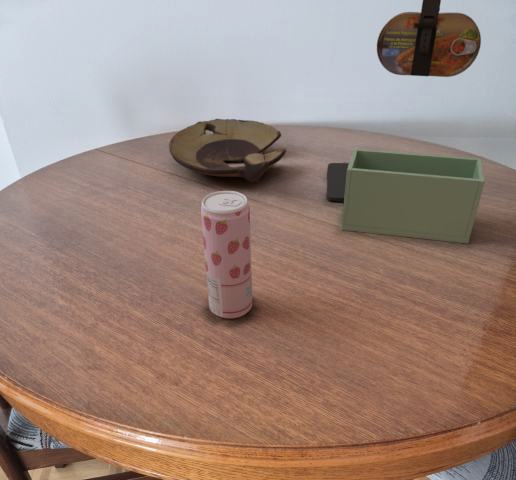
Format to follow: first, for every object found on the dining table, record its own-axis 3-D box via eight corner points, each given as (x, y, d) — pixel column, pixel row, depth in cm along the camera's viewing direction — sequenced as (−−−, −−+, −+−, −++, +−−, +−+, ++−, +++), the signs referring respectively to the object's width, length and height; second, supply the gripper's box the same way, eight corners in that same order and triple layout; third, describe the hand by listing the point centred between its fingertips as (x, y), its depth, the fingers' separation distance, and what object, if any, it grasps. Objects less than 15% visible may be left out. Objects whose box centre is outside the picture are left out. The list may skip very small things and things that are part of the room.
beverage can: (256, 316, 70) (254, 208, 60) (212, 322, 69) (203, 214, 59) (247, 291, 74) (244, 187, 64) (206, 297, 73) (196, 192, 63)
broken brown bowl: (280, 141, 116) (281, 103, 111) (293, 204, 94) (294, 161, 89) (176, 144, 116) (172, 106, 111) (163, 208, 93) (157, 165, 88)
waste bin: (466, 218, 89) (481, 158, 82) (468, 243, 83) (485, 181, 76) (348, 206, 93) (353, 148, 86) (341, 230, 87) (347, 169, 80)
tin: (373, 73, 86) (380, 12, 80) (375, 67, 88) (382, 7, 82) (473, 79, 83) (487, 16, 77) (473, 72, 85) (487, 10, 79)
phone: (326, 197, 94) (327, 162, 105) (326, 201, 94) (327, 166, 105) (370, 198, 93) (366, 163, 104) (369, 203, 93) (365, 167, 105)
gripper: (425, -125, 76) (399, 59, 92) (419, -126, 65) (391, 85, 80) (481, -127, 75) (445, 61, 90) (485, -127, 63) (444, 88, 79)
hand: (420, 72), depth 85 cm, fingers closed on tin, 3 cm apart
